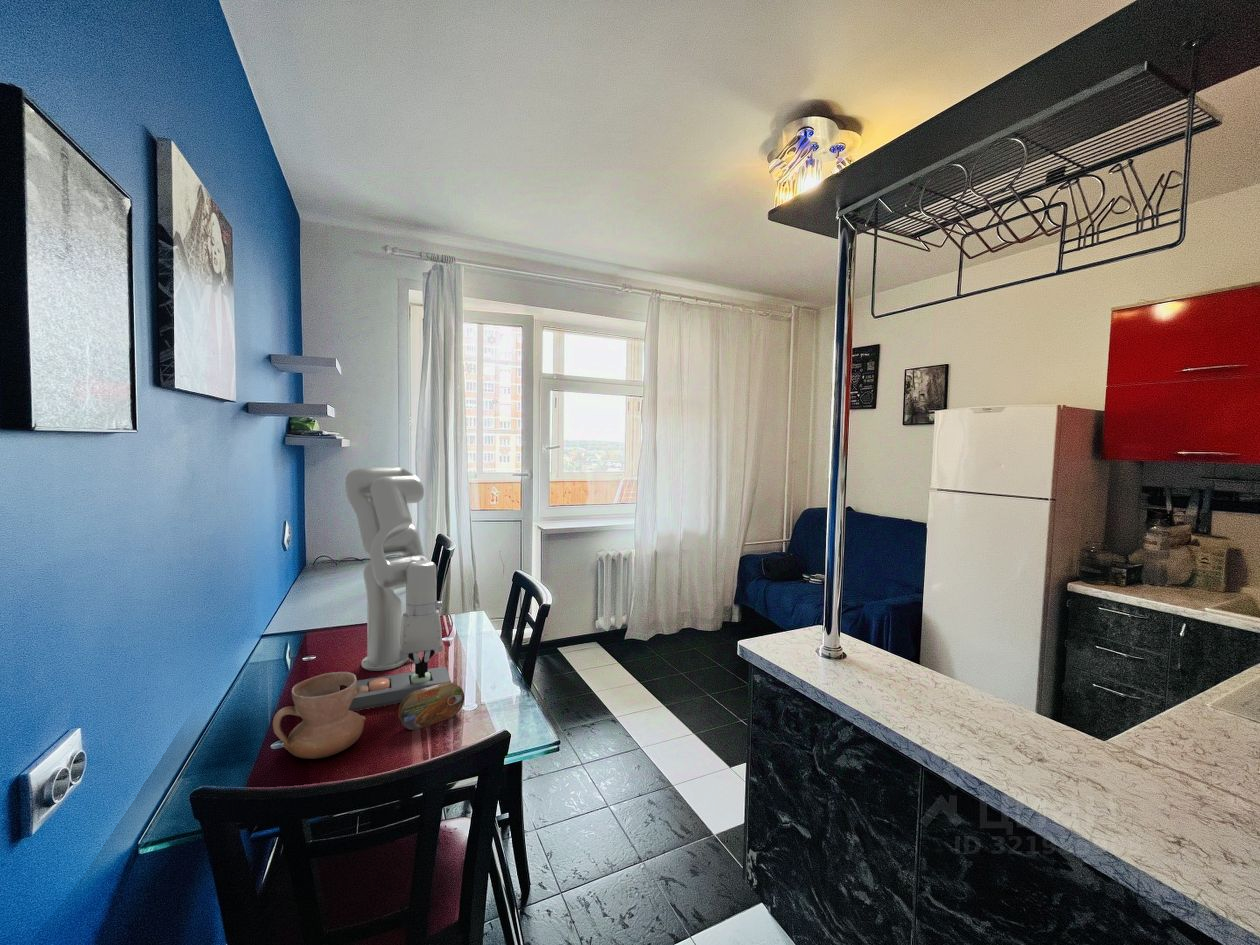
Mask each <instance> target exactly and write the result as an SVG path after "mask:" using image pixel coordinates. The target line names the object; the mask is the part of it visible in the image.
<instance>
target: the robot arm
mask: <svg viewBox="0 0 1260 945" xmlns="http://www.w3.org/2000/svg"><path fill="white" fill-rule="evenodd" d="M344 483H345V491H346V497H347V498H348V501H349V503H350V505H351V507H352V509H353V511H354V513H355V515H356V518H357V522H358V527H359V532H360V537H361V542H362V547H363V549H364V551H365V554H367V555H368V556H369V559H370V561H369V562H368V563H367V564H366V565H365V566H364V569H363V580H364V585H365V592H366V607H367V609H366V611H367V617H366V619H367V622H366V623H367V624H366V625H367V627H366V628H367V632H366V634H367V638H366V639H367V645H366V646H367V647H366V648H367V650H366V652H367V656H365V657H364V658H363V659H362V660H361V668H363V669H364V670H367V671H373V672H375V671H376V672H379V671H380V672H381V671H382V672H383V671H388V670H392V669H396V668H399V667H401V666H402V665H405V664H406V663H407V662H408V660H409V659H410V660H411V661H412V662H414V671H415V674H418V677H419V678H421V677H425V673H426V672H428V669H429V668H428V667H429V666H428V665H429V664H428V662H429V660H430V659H431V658H432V657H433V656H434V655H435V654H437V653H438V654H439V653H441V652H442V651H443V643H442V642H443V639H442V638H443V636H442V635H443V633H442V623H441V615H440V611H439V609H438V608H440V607H443V601H439V600H437V565H436V563H435V562H433V561H431V560H429V559H428V558H427V556H425V554H424V550H423V545H422V541H421V537H420V533H419V531H418V529H417V527H416V526H415V525H414V524H413V519H412V516H411V512H410V510H409V505H408V504H417V503H420V502H421V501H422V500H423V498H424V495H425V494H424V493H425V490H424V489H425V488H424V485H423V483H422V481H421V479H420V478H419V476H417V475H416V474H415V473H413V472H411V471H410V470H408V469H406V468H405V467H401V466H394V467H393V466H391V467H389V466H386V467H385V466H384V467H381V466H380V467H379V466H378V467H377V466H376V467H375V466H372V467H371V466H370V467H360V468H354V469H353V470H350V471H349V472H348V473H347V474H346V477H345V482H344ZM397 554H401V555H400V556H399V555H398V556H389V555H397ZM386 556H389V557H386ZM401 588H405V612H404V613H403V602H402V600H401V598H400V597H399V596H398V595H397V594H396V592H394V591H395V590H398V589H401ZM421 652H423V655H422V658H420V656H419V655H420V654H419V653H421Z"/></svg>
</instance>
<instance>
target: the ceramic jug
mask: <svg viewBox="0 0 1260 945" xmlns="http://www.w3.org/2000/svg"><path fill="white" fill-rule="evenodd" d="M357 679H358V678H357V676H356V674H354V673H352V672H349V671H337V672H336V671H333V672H327V673H323V674H319V675H316V676H312V677H310V678H307V679H305V680H302V681H300V682H297V683H296V684H295V685H294V686H293V687H292V688H291V698H292V701H293V704H294V706H293V705H291V706H289V705H288V706H287V705H286V706H285V707H282V708H280V709H279V710H278V711H277V712H276V713H275V715H274V716H273V720H272V728H273V732H274V735H276V737H278V739H279V740H280V741H281V742H282V743H283V748H284V749H285V750H286V751H288V752H289V754H291V755H293V756H294V757H296V758H301V759H307V760H310V759H311V760H312V759H313V760H315V759H317V760H318V759H322V758H328V757H331V756H334V755H336V754H339V753H341V752H343V751H344V750H346V749H349V748H350V747H352V746H353V745H354V744H355V743H356V742H357V741H358V740H359V738H360V737H361V735H362V733H363V731H364V726H365V722H366V716H364V715H360V714H359V713H358V712H353V711H350V710H348V709H349V707H350V705H351V702H352V700H353V698H354V697H355V696H357V695H358V694H360V693H362V692H365V693H367V692H368V689H369V688H368V686H360V687H358V688H356V685H357V681H358V680H357ZM341 686H346V688H344V689H342V690H341V689H340V688H341ZM288 715H289V716H290V715H292V716H296V717H300V718H301V719H302V721H301V722H299V723H298V724H296V726H295V727H293V729H291V731H290V732H289V734H288V736H287V735H286V734H285V733H284V731H283V729H282V726H281V724H282V719H283V717H285V716H288Z"/></svg>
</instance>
